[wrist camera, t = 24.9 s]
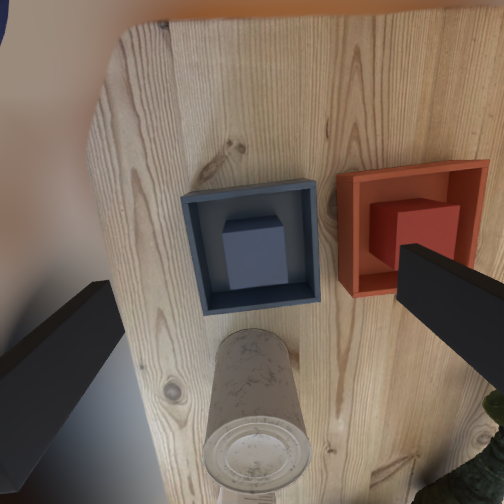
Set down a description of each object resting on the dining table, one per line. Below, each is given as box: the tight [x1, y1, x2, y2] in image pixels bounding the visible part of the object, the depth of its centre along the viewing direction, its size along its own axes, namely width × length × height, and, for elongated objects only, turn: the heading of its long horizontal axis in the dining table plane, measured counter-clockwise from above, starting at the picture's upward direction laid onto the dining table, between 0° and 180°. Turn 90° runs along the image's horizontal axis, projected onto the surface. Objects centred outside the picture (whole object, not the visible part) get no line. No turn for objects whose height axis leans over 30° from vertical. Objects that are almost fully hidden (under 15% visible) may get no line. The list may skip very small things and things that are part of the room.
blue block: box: [222, 215, 288, 289], centre depth 27 cm, size 6×6×6 cm
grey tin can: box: [202, 329, 311, 495], centre depth 29 cm, size 10×10×12 cm
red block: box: [369, 198, 460, 270], centre depth 27 cm, size 6×6×6 cm
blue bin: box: [180, 178, 321, 316], centre depth 28 cm, size 12×12×4 cm
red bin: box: [337, 160, 490, 298], centre depth 28 cm, size 12×12×4 cm
